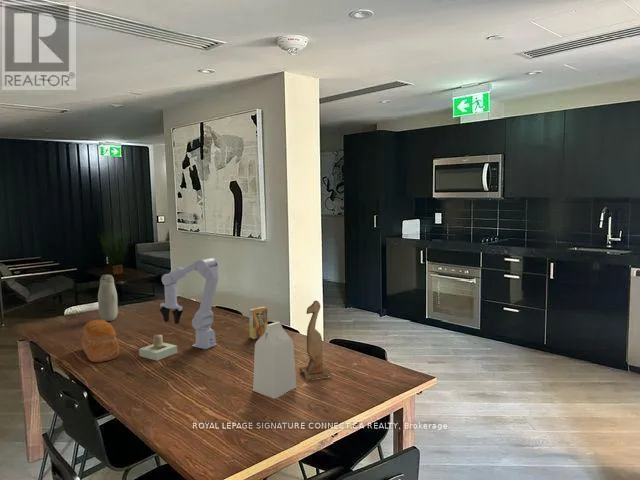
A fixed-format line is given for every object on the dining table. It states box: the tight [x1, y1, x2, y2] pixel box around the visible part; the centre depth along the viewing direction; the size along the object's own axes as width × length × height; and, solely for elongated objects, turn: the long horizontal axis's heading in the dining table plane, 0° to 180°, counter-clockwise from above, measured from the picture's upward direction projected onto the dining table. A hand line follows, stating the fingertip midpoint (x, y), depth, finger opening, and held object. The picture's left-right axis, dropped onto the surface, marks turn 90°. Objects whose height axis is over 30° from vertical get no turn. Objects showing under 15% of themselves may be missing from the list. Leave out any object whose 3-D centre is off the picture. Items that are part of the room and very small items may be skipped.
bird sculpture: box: [299, 300, 332, 381], centre depth 191 cm, size 11×12×32 cm
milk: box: [252, 321, 297, 400], centre depth 178 cm, size 12×12×26 cm
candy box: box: [248, 306, 268, 340], centre depth 245 cm, size 9×4×15 cm, turn 129°
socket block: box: [138, 342, 178, 362], centre depth 219 cm, size 12×12×4 cm
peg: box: [152, 334, 164, 350], centre depth 219 cm, size 4×4×9 cm
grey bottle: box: [97, 274, 119, 322], centre depth 277 cm, size 10×10×28 cm
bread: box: [81, 318, 120, 363], centre depth 221 cm, size 14×26×15 cm, turn 35°
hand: (171, 322), depth 239 cm, fingers open, 7 cm apart
